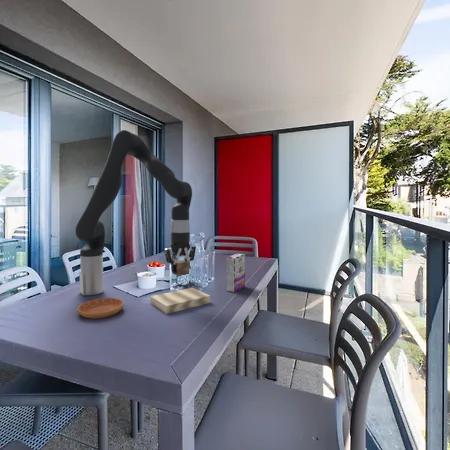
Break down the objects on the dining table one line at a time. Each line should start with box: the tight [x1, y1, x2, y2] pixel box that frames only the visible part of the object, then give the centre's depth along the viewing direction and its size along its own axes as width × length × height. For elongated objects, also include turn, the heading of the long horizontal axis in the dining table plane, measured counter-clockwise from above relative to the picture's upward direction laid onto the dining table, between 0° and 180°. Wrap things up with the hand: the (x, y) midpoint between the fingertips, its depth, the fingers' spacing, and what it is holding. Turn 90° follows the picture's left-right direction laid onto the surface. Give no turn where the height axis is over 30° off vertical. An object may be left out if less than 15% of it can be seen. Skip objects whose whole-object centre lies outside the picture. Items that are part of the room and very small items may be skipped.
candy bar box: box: [225, 253, 246, 293], centre depth 139 cm, size 11×5×16 cm, turn 150°
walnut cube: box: [171, 259, 189, 277], centre depth 117 cm, size 5×5×5 cm
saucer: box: [77, 297, 125, 320], centre depth 108 cm, size 16×16×3 cm
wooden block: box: [150, 287, 211, 315], centre depth 118 cm, size 20×14×3 cm
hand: (180, 272), depth 117 cm, fingers closed on walnut cube, 5 cm apart
